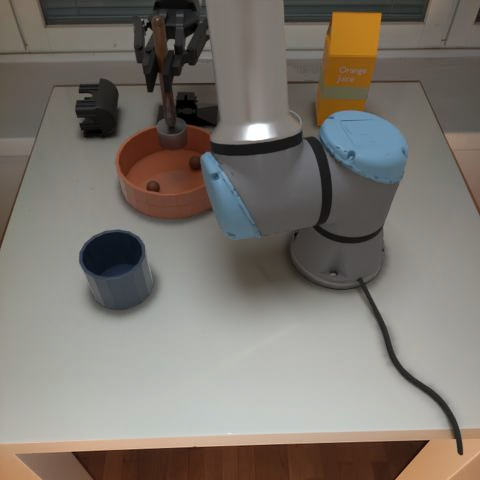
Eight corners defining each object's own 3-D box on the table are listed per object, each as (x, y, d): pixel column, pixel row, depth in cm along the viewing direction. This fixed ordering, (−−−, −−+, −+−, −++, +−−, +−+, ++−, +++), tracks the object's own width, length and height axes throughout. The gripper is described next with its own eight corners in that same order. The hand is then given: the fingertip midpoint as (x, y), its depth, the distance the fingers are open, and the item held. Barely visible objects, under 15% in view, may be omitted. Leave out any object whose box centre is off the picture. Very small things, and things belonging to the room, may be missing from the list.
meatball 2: (200, 171, 88) (202, 158, 87) (187, 169, 88) (189, 156, 86) (200, 168, 90) (202, 155, 89) (188, 166, 90) (189, 153, 88)
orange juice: (360, 127, 98) (385, 23, 81) (317, 126, 98) (333, 22, 81) (355, 104, 102) (379, 1, 85) (314, 103, 102) (330, 0, 85)
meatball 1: (159, 198, 85) (158, 189, 83) (145, 196, 85) (144, 187, 83) (161, 187, 86) (160, 178, 84) (148, 185, 86) (147, 176, 84)
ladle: (193, 144, 81) (182, 19, 64) (167, 154, 80) (148, 28, 63) (179, 129, 83) (165, 4, 67) (153, 138, 82) (132, 13, 65)
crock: (163, 295, 74) (156, 261, 67) (107, 321, 71) (94, 289, 65) (137, 255, 78) (128, 220, 72) (83, 279, 76) (69, 245, 69)
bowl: (245, 195, 86) (246, 169, 81) (150, 236, 81) (145, 210, 76) (194, 139, 95) (192, 111, 90) (105, 172, 89) (98, 145, 84)
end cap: (118, 137, 95) (111, 106, 89) (83, 139, 95) (73, 107, 89) (122, 108, 101) (115, 77, 95) (88, 109, 100) (79, 78, 95)
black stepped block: (156, 127, 97) (152, 106, 93) (159, 106, 101) (156, 85, 97) (216, 126, 97) (215, 105, 93) (217, 105, 101) (216, 84, 97)
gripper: (222, 30, 83) (210, 110, 70) (138, 27, 83) (111, 106, 70) (221, -19, 77) (208, 58, 64) (130, -22, 77) (99, 54, 64)
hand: (157, 83), depth 67 cm, fingers closed on ladle, 2 cm apart
